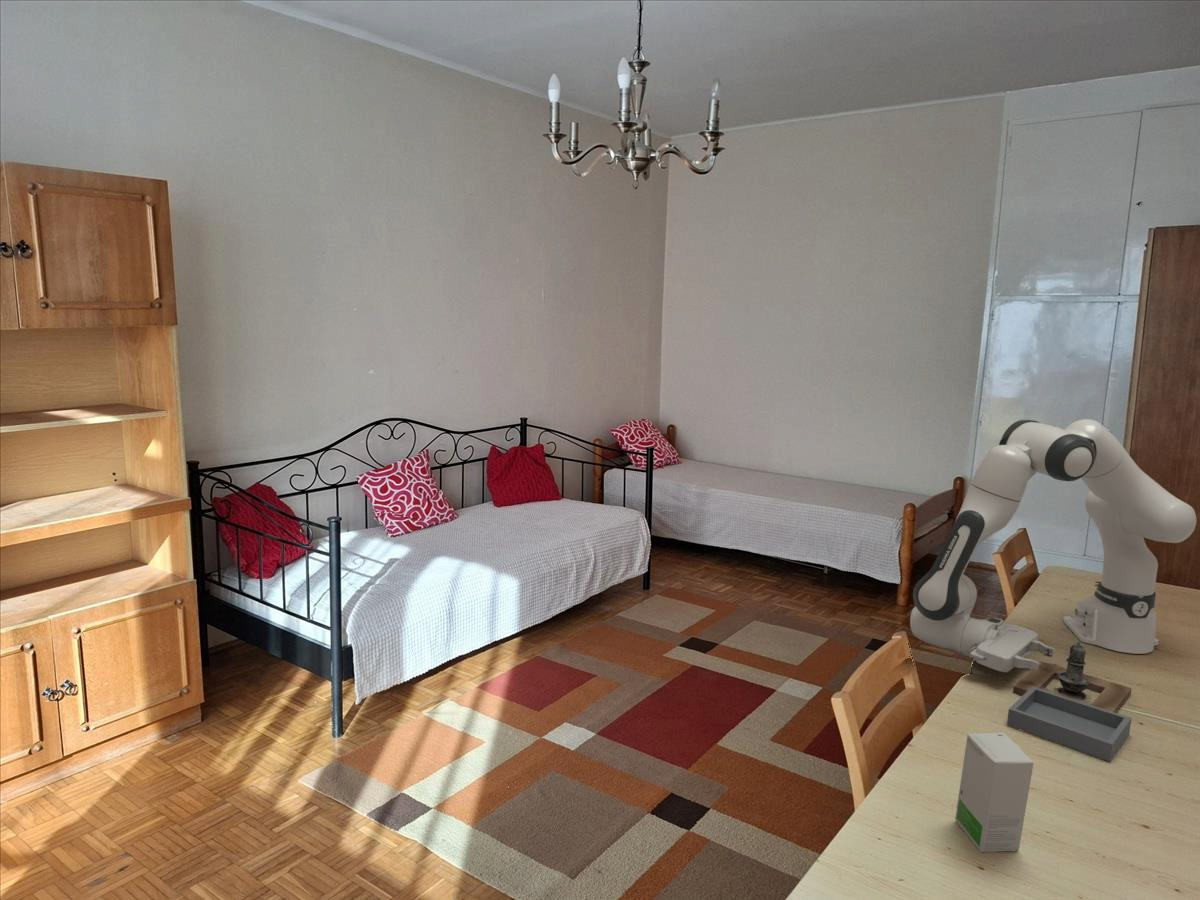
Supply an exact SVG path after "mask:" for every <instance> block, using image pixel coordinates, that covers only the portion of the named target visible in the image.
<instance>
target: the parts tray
mask: <svg viewBox="0 0 1200 900" xmlns="http://www.w3.org/2000/svg"><path fill="white" fill-rule="evenodd" d="M1007 712H1008V713H1007V719H1006V720H1007V721H1006V726H1007V725H1009V726H1008V727H1010V726H1012V727H1011V728H1013V727H1015V728H1014V729H1016V728H1017V729H1016V730H1019V729H1021V730H1023V731H1022V732H1024V731H1025V733H1027V732H1028V733H1027V734H1030V735H1033V736H1036V737H1038V738H1042V739H1044V740H1047V741H1050V742H1053V743H1056V744H1059V745H1060V746H1064V747H1067V748H1070V749H1073V750H1075V751H1078V752H1081V753H1084V754H1086V755H1089V756H1092V757H1095V758H1097V759H1100V760H1103V761H1106V762H1108V763H1109V762H1110V763H1111V761H1112V760H1113V758H1115V757H1114V756H1115V755H1116V754H1117V752H1118V751H1119V750H1120V749H1121V747H1122V745H1123V744H1124V743H1125V741H1126V740H1127V738H1128V737H1129V736H1130V733H1131V732H1130V731H1131V725H1132V719H1133V718H1132V717H1131V716H1127V715H1124V714H1121V713H1118V712H1117V713H1115V712H1112V711H1108V710H1105V709H1102V708H1099V707H1096V706H1093V705H1090V704H1086V703H1083V702H1080V701H1077V700H1074V699H1071V698H1068V697H1064V696H1061V695H1058V694H1055V693H1052V692H1049V691H1046V690H1043V689H1039V688H1036V687H1033V686H1032V687H1031V688H1030V689H1029V690H1028V691H1027V692H1026V693H1025V694H1024V695H1023V696H1021V697H1020V698H1018V699H1017V700H1016V701H1015V702H1014V703H1013V704H1012V705H1011V706H1010V707H1009V708H1008V711H1007ZM1021 730H1020V731H1021Z"/></svg>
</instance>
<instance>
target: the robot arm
mask: <svg viewBox="0 0 1200 900" xmlns="http://www.w3.org/2000/svg"><path fill="white" fill-rule="evenodd" d="M1064 428H1065V429H1064ZM1064 428H1060V427H1058V426H1055V425H1050V424H1047V423H1043V422H1042V423H1041V422H1040V421H1037V420H1032V419H1020V420H1017V421H1014V423H1012V424H1011V425H1010V426H1008V428H1006V430H1005V431H1004V432H1003V434H1002V437H1001V439H1000V441H999V444H998V445H996V446H993V447H992V448H990V449H989V450H988V452H987V453H986V454H985V456H984V458H983V459H982V461H981V462H980V464H979V466H978V468H977V470H976V471H975V473H974V475H973V478H972V480H971V483H970V485H969V487H968V489H967V492H966V494H965V497H964V499H963V502H962V504H961V507H960V510H959V512H958V515H957V516H956V518H955V521H954V523H953V525H952V527H951V528H950V531H949V532H948V534H947V536H946V538H945V541H944V543H943V545H942V547H941V548H940V550H939V553H938V554H937V557H936V558H935V560H934V563H933V565H932V566H931V568H930V570H929V571H928V572H927V573H926V574H925V575H924V576H922V577H921V578H920V579H919V580H918V581H917V582H916V584H915V585H914V588H913V591H912V598H913V602H914V605H915V606H914V607H913V608H912V609H911V613H910V616H909V626H910V630H911V632H912V634H913V635H914V636H915V637H916V638H917V639H919V640H921V641H922V642H924V643H927V644H928V645H932V646H934V647H937V648H941V649H943V650H953V651H956V652H957V653H959V654H960V655H963V656H966V657H970V658H972V659H974V660H975V662H976V663H978V664H979V665H982V666H984V667H986V668H989V669H992V670H995V671H997V672H1000V673H1009V672H1010V671H1012V670H1013V669H1014V668H1018V669H1030V670H1032V669H1033V670H1038V669H1039V668H1040V664H1041V661H1040V660H1038V659H1035V658H1026V657H1027V656H1029V654H1031V653H1032V652H1035V653H1037V652H1039V653H1041V654H1042V655H1043V657H1044V656H1045V657H1048V658H1053V656H1054V655H1055V652H1056V649H1055V648H1054V647H1052V646H1048V645H1046V644H1044V643H1043V642H1041V641H1039V634H1038V633H1037V632H1036V631H1034V630H1032V629H1028V628H1027V627H1023V626H1020V625H1016V624H1013V623H1007V622H1005V623H1004V619H1002V618H998V617H994V618H989V619H982V618H981V619H977V618H974V617H971V616H972V613H973V610H974V607H975V605H976V602H977V599H978V588H977V586H976V584H975V582H974V580H972V579H971V577H970V576H968V575H967V574H965V571H966V569H967V567H968V565H969V562H970V560H971V559H972V557H973V555H974V553H975V551H976V549H978V547H979V546H980V545H981V544H982V543H983V542H984V541H985V540H987V539H988V538H989V537H991V536H992V535H994V534H996V533H998V532H1000V531H1001V530H1003V529H1004V528H1006V527H1007V526H1008V524H1009V523H1010V521H1011V520H1012V519H1013V517H1014V515H1015V514H1016V512H1017V510H1018V508H1019V506H1020V503H1021V502H1022V499H1023V497H1024V493H1025V491H1026V488H1027V485H1028V482H1029V481H1030V479H1031V478H1032V477H1034V476H1035V475H1036V474H1037V473H1038V474H1041V475H1045V476H1048V477H1050V478H1052V479H1055V480H1057V481H1063V482H1075V481H1077V480H1080V479H1081V480H1082V481H1083V483H1084V484H1085V485H1086V487H1087V488H1088V489H1089V490H1088V493H1087V494H1086V497H1085V502H1084V504H1085V505H1084V506H1085V510H1086V512H1087V514H1088V516H1090V518H1091V519H1092V521H1093V522H1094V524H1095V526H1096V528H1097V530H1098V532H1099V535H1100V538H1101V543H1102V549H1103V563H1102V571H1101V572H1102V573H1101V579H1100V580H1101V581H1094V583H1095V584H1094V585H1093V586H1094V587H1096V589H1095V591H1094V594H1092V595H1090V596H1088V597H1086V598H1083V599H1081V600H1079V601H1078V602H1077V603H1076V604H1075V609H1074V612H1073V613H1074V614H1070V615H1066V616H1063V618H1062V622H1063V623H1064V624H1065V625H1066V626H1067V627H1068V629H1069V630H1070V631H1071V632H1073V635H1075V636H1076V637H1077V638H1078V641H1079V642H1082V643H1085V644H1089V645H1093V646H1098V647H1100V648H1101V647H1102V648H1104V649H1107V650H1110V651H1115V652H1119V653H1124V654H1125V653H1127V654H1134V655H1135V654H1136V655H1140V654H1143V655H1144V654H1149V653H1151V652H1153V651H1154V649H1155V647H1156V646H1159V639H1158V638H1156V624H1157V613H1156V611H1155V610H1154V608H1155V604H1156V601H1157V599H1156V597H1157V595H1156V592H1155V589H1156V582H1157V575H1158V567H1159V562H1158V559H1157V557H1156V556H1155V555H1154V554H1153V552H1152V551H1151V549H1149V548H1148V546H1147V544H1146V540H1145V539H1148V540H1152V541H1155V542H1163V543H1170V544H1171V543H1172V544H1178V543H1182V542H1184V541H1185V540H1187V539H1188V538H1189V537H1190V536H1192V534H1193V533H1194V531H1195V530H1196V529H1195V528H1196V525H1197V515H1196V511H1195V509H1194V508H1193V507H1192V506H1191V505H1190V504H1188V502H1187V503H1186V502H1184V501H1183V500H1181V499H1179V498H1177V497H1176V496H1175V495H1173V494H1172V493H1170V492H1169V491H1168V490H1166V488H1164V487H1163V486H1161V484H1159V483H1158V482H1156V481H1155V480H1154V479H1153V478H1152V477H1151V476H1149V475H1148V474H1147V473H1145V472H1144V471H1143V470H1142V469H1141V468H1140V467H1139V465H1137V464H1136V462H1135V461H1134V459H1133V458H1132V457H1131V456H1130V454H1129V453H1128V452H1127V450H1126V449H1125V448H1124V445H1122V443H1121V442H1120V441H1119V440H1118V439H1117V437H1116V436H1115V435H1114V434H1113V433H1111V431H1110V430H1109V429H1107V428H1106V427H1105V426H1104V425H1103V424H1101V422H1099V421H1097V420H1094V419H1091V418H1090V419H1089V418H1082V419H1078V420H1075V421H1073V422H1072V423H1070V424H1068V425H1067V426H1066V427H1064ZM1144 538H1145V539H1144Z"/></svg>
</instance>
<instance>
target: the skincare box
mask: <svg viewBox="0 0 1200 900" xmlns="http://www.w3.org/2000/svg"><path fill="white" fill-rule="evenodd" d="M965 744H966V745H965V750H964V755H963V756H964V757H963V763H962V764H963V765H962V769H961V770H962V771H961V778H960V785H959V791H958V798H957V803H956V804H957V805H956V812H955V816H954V817H955V822H956V821H957V822H956V823H957V824H958V823H959V824H958V826H960V828H961V827H962V828H961V829H962V830H964V831H965V832H964V831H963V832H964V833H965V834H966V836H967V837H968V836H969V837H968V838H969V839H970V841H971V840H972V841H973V842H974V843H975V844H974V843H973V842H972V841H971V842H972V843H973V844H974V846H975V845H976V846H977V847H978V848H977V847H976V846H975V847H976V848H977V850H978V849H979V850H980V851H981V852H987V853H999V852H998V851H1013V850H1015V851H1013V852H1017V851H1016V850H1019V851H1020V845H1021V839H1022V834H1023V826H1024V821H1025V816H1026V810H1027V803H1028V797H1029V793H1030V786H1031V780H1032V775H1033V769H1034V763H1035V762H1034V761H1033V760H1032V759H1031V758H1030V757H1029V756H1028V755H1027V754H1026V753H1025V752H1024V751H1023V750H1022V748H1021V747H1020V746H1019V745H1018V744H1017V743H1015V742H1014V741H1012V739H1011V738H1010V737H1009V736H1008V735H1006V733H1004V732H989V733H987V732H983V733H982V732H981V733H967V735H966V743H965ZM979 850H978V851H979ZM980 851H979V852H980ZM981 852H980V853H981Z"/></svg>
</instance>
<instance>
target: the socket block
mask: <svg viewBox="0 0 1200 900" xmlns="http://www.w3.org/2000/svg"><path fill="white" fill-rule="evenodd" d="M1040 662H1041V664H1040V668H1039V669H1038V670H1033V669H1030V671H1029V672H1027V673H1026V674H1025V675H1024V676H1023V677H1022V678H1021V679H1020V680H1019V681H1018V682H1017V683H1016V684H1014V686H1013V688H1012V690H1013V691H1012V694H1016V695H1018V694H1019V696H1021V695H1022V696H1023V695H1024V694H1025V693H1026V692H1027V691H1028V690H1029V689H1030V688H1031V687H1032V686H1033V687H1036V688H1039V689H1043V690H1046V691H1049V692H1052V693H1055V694H1058V695H1061V696H1064V697H1068V698H1071V699H1074V700H1077V701H1080V702H1083V703H1086V704H1090V705H1093V706H1096V707H1099V708H1102V709H1105V710H1108V711H1112V712H1115V713H1118V712H1119V710H1120V709H1122V706H1123V705H1124V704H1125V702H1126V701H1127V700H1128V699H1129V698H1130V696H1131V694H1132V687H1129V686H1126V685H1122V684H1120V683H1116V682H1112V681H1109V680H1105V679H1102V678H1099V677H1096V676H1093V675H1089V674H1086V673H1083V675H1084V677H1086V678H1087V679H1089V681H1090V683H1089V684H1088V685H1087V689H1086V690H1089V689H1090V691H1093V692H1095V693H1096V692H1097V693H1099V695H1098V696H1097V697H1096V698H1095V699H1094V701H1093V702H1090V701H1087V700H1084V699H1083V700H1080V699H1077V698H1074V697H1071V696H1068V695H1065V694H1061V693H1059V692H1058V691H1055V690H1052V689H1049V688H1046V687H1047V686H1048V685H1049V684H1050V683H1051V682H1052V681H1053V680H1057V679H1058V680H1057V681H1060V678H1059V676H1058V675H1059V674H1060V673H1062V672H1066V670H1067V667H1066V668H1065V667H1061V666H1059V665H1056V664H1052V663H1049V662H1046V661H1040ZM1054 678H1055V679H1054ZM1022 696H1021V697H1022Z"/></svg>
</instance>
